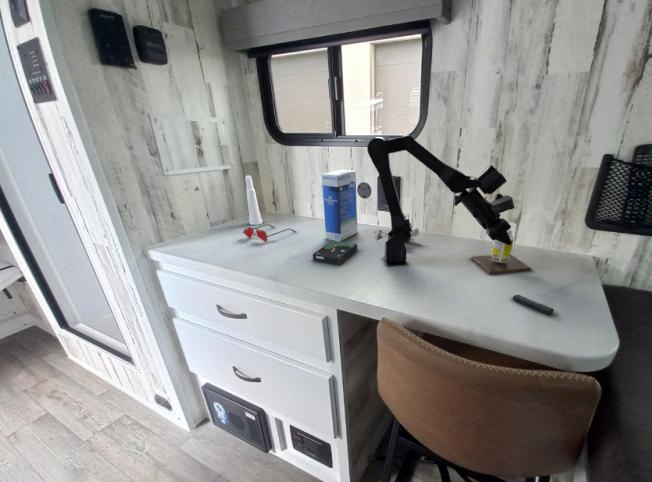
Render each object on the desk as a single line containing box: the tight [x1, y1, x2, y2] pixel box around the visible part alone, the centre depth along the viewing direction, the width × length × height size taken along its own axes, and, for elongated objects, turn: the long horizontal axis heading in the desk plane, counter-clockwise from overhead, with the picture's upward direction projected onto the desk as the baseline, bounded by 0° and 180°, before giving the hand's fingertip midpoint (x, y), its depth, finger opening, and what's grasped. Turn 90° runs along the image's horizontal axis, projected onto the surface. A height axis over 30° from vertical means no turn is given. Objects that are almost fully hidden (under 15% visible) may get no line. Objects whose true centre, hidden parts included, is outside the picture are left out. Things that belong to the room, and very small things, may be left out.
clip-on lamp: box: [374, 227, 420, 244], centre depth 121 cm, size 12×6×18 cm
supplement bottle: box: [490, 228, 515, 263], centre depth 97 cm, size 6×6×10 cm
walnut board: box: [470, 254, 532, 275], centre depth 100 cm, size 14×12×1 cm
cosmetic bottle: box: [244, 174, 264, 226], centre depth 142 cm, size 6×6×22 cm
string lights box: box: [321, 169, 358, 242], centre depth 123 cm, size 13×8×26 cm, turn 150°
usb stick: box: [512, 294, 555, 316], centre depth 76 cm, size 10×3×2 cm, turn 38°
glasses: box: [242, 223, 297, 243], centre depth 129 cm, size 14×16×5 cm
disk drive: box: [312, 240, 358, 265], centre depth 108 cm, size 10×3×15 cm
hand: (507, 241), depth 96 cm, fingers closed on supplement bottle, 5 cm apart
